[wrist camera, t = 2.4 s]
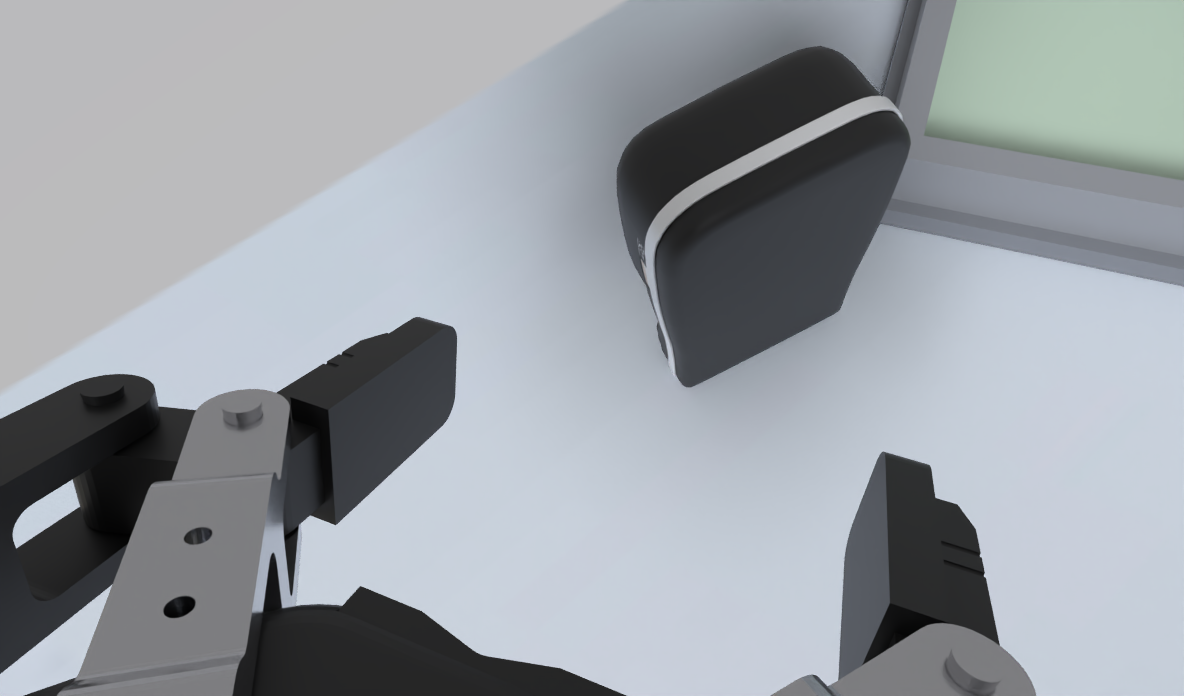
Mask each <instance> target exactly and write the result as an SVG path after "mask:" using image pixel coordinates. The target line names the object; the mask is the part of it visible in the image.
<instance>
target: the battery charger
mask: <svg viewBox="0 0 1184 696" xmlns="http://www.w3.org/2000/svg"><path fill="white" fill-rule="evenodd" d="M910 145H911V139H910V135H909V132H908V129H907V127H906V126H905V124H904V122H903V116H902V114H901V112H900V111H899V110H898V109H897V107H896V106H895V105H894V104H893V103H892V102H891V100H889V99H888V98H887V97H884V96H881V95H880V94H879V93H878V92H877V91H876V90H875V88H874V87H873V86H872V85H871V84H870V83H869V81H868V80H867V79H866V78H865V77H864V76H863V74H862V73H861V72H860V71H859V70H858V69H857V67H856V66H855V65H854V64H853V63H852V62H851V61H849V60H848V59H847V58H846V57H845V56H844V55H843V54H841V53H839V52H837V51H835V50H832V49H829V48H825V47H822V46H818V47H811V48H805V49H801V50H798V51H795V52H793V53H790V54H788V55H785V56H783V57H781V58H779V59H777V60H775V61H773V62H771V63H769V64H767V65H765V66H763V67H760V68H758V69H756V70H754V71H752V72H750V73H748V74H746V75H744V76H742V77H740V78H738V79H736V80H734V81H732V82H730V83H728V84H726V85H724V86H722V87H720V88H718V89H716V90H714V91H712V92H710V93H708V94H707V95H705V96H703V97H701V98H699V99H697V100H695V101H693V102H691V103H689V104H688V105H686V106H684V107H682V108H680V109H678V110H676V111H674V112H672V113H670V114H669V115H667V116H665V117H663V118H661V119H659V120H658V121H656V122H654V123H653V124H651V125H649V126H648V127H646V128H645V129H643V130H642V131H641V132H640V133H639V134H637V135H636V136H635V137H634V138H633V139H632V140H631V142H630V143H629V144H628V146H627V147H626V148H625V150H624V152H623V154H622V157H621V159H620V162H619V165H618V167H617V197H618V203H619V210H620V215H621V221H622V226H623V231H624V236H625V240H626V243H627V247H628V251H629V254H630V256H631V258H632V261H633V263H634V265H635V268H636V269H637V271H638V273H639V275H640V276H641V278H642V280H643V281H644V283H645V285H646V287H647V291H648V294H649V297H650V300H651V303H652V306H653V309H654V312H655V314H656V317H657V319H658V323H657V330H658V336H659V340H660V343H661V347H662V350H663V352H664V354H665V356H666V358H667V359H668V361H669V368H670V370H671V371H672V373H673V375H674V376H675V377H678V379H679V381H680V382H681V383H682V384H683V385H684V386H685V387H693V386H695V385H697V384H699V383H701V382H703V381H705V380H707V379H709V378H711V377H713V376H715V375H717V374H719V373H721V372H723V371H725V370H727V369H729V368H731V367H733V366H735V365H737V364H739V363H741V362H743V361H745V360H746V359H748V358H750V357H752V356H754V355H756V354H758V353H760V352H762V351H764V350H766V349H768V348H770V347H772V346H774V345H776V344H778V343H779V342H781V341H783V340H785V339H787V338H789V337H791V336H793V335H795V334H797V333H799V332H801V331H803V330H804V329H806V328H808V327H810V326H812V325H814V324H816V323H818V322H820V321H822V320H823V319H825V318H827V317H829V316H831V315H833V314H835V313H836V312H838V311H839V310H840V308H841V306H842V303H843V300H844V298H845V295H846V292H847V290H848V288H849V285H850V283H851V280H852V278H853V276H854V274H855V272H856V270H857V268H858V266H859V264H860V262H861V260H862V258H863V256H864V254H865V252H866V250H867V248H868V246H869V244H870V242H871V240H872V238H873V236H874V234H875V232H876V230H877V228H878V226H879V224H880V222H881V220H882V218H883V215H884V213H885V211H886V209H887V207H888V204H889V202H890V200H891V197H892V195H893V193H894V190H895V188H896V185H897V183H898V181H899V178H900V176H901V173H902V171H903V168H904V165H905V163H906V160H907V158H908V154H909V150H910Z"/></svg>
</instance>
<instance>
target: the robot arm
mask: <svg viewBox="0 0 1184 696" xmlns="http://www.w3.org/2000/svg"><path fill="white" fill-rule="evenodd" d="M456 355H457V335H456V331H455V329H454V328H453V327H451V326H448V325H445V324H441V323H438V322H434V321H431V320H427V319H424V318H421V317H415V318H413V319H411V320H410V321H408V322H406V323H405V324H403V325H402V326H400V327H399V328H397V329H395V330H394V331H392V332H391V333H389V334H388V333H385V334H381V335H378V336H375V337H371V338H368V339H364V340H361V341H359V342H358V343H356V344H355V345H353V346H351V347H350V348H348V349H347V350H345V351H343V352H342V355H340V354H338V355H337V356H335V357H334V358H332V359H330V360H329V361H327V364H322V365H321V366H319V367H317V368H316V369H314V370H313V371H311V372H309V373H308V374H306V375H304V376H303V377H301V378H300V379H298V380H296V381H295V382H293V383H291V384H290V385H288V386H287V387H285V388H283V389H282V390H280V391H278V392H277V393H274V392H271V391H267V390H258V389H246V390H237V391H232V392H228V393H224V394H221V395H218V396H216V397H214V398H211V399H209V400H208V401H206V402H204V403H203V404H202V405H201V406H200V407H199V408H198V409H197V410H187V409H178V408H168V407H158V402H157V397H156V392H155V388H154V385H153V384H152V383H151V382H150V381H149V380H147V379H145V378H143V377H139V376H135V375H127V374H113V375H103V376H98V377H93V378H89V379H85V380H82V381H79V382H76V383H74V384H71V385H69V386H67V387H65V388H63V389H61V390H59V391H57V392H55V393H53V394H51V395H49V396H47V397H45V398H43V399H40V400H38V401H36V402H34V403H32V404H30V405H28V406H26V407H24V408H22V409H20V410H18V411H16V412H14V413H12V414H10V415H8V416H6V417H4V418H2V419H0V674H1V673H2V672H3V671H4V670H6V669H7V668H8V667H9V666H11V665H12V664H13V663H14V662H16V661H17V660H18V659H19V658H21V657H22V656H23V655H24V654H26V653H27V652H28V651H29V650H31V649H32V648H33V647H34V646H36V645H37V644H38V643H39V642H41V641H42V640H43V639H44V638H46V637H47V636H48V635H49V634H51V633H52V632H53V631H54V630H56V629H57V628H58V627H59V626H61V625H62V624H63V623H64V622H66V621H67V620H68V619H69V618H71V617H72V616H73V615H74V614H76V613H77V612H78V611H80V610H81V609H82V608H83V607H85V606H86V605H87V604H88V603H90V602H91V601H92V600H93V599H95V598H96V597H97V596H98V595H100V594H101V593H102V592H103V591H105V590H106V589H107V588H108V587H110V586H111V585H112V584H113V585H112V588H111V590H110V593H109V596H108V598H107V601H106V604H105V606H104V609H103V612H102V614H101V617H100V619H99V622H98V625H97V627H96V630H95V633H94V635H93V638H92V641H91V643H90V646H89V649H88V651H87V654H86V657H85V659H84V662H83V665H82V667H81V670H80V672H79V674H78V676H77V677H76V678H73V679H71V680H68V681H65V682H62V683H59V684H56V685H53V686H50V687H47V688H45V689H42V690H39V691H36V692H33V693H30V694H27V695H24V696H626V695H624V694H621V693H619V692H616V691H614V690H611V689H609V688H607V687H604V686H602V685H599V684H597V683H594V682H592V681H590V680H587V679H585V678H582V677H580V676H577V675H575V674H573V673H570V672H568V671H565V670H563V669H560V668H555V667H549V666H542V665H536V664H530V663H524V662H518V661H512V660H506V659H500V658H493V657H487V656H483V655H480V654H478V653H476V652H475V651H473V650H472V649H470V648H469V647H468V646H466V645H465V644H464V643H462V642H461V641H460V640H459V639H457V638H456V637H455V636H453V635H452V634H451V633H449V632H448V631H447V630H445V629H444V628H443V627H442V626H440V625H439V624H438V623H436V622H435V621H434V620H432V619H431V618H430V617H428V616H427V615H426V614H425V613H423V612H422V611H420V610H417V609H415V608H412V607H410V606H407V605H405V604H403V603H400V602H398V601H395V600H393V599H390V598H388V597H386V596H383V595H381V594H378V593H376V592H373V591H371V590H369V589H366V588H364V587H361V586H360V587H359V588H358V589H357V590H356V592H355V593H354V594H353V595H352V596H351V597H350V598H349V599H348V600H347V601H346V603H345V604H344V605H343V606H339V605H323V604H315V605H300V606H296V602H297V590H298V578H299V566H300V554H301V542H302V531H301V523H302V522H303V521H304V520H305V519H306V518H307V517H309V516H310V515H311V516H314V517H316V518H319V519H321V520H324V521H326V522H329V523H332V524H334V525H336V524H338V523H339V522H340V521H341V520H342V519H343V518H344V517H345V516H346V515H347V514H348V513H349V512H350V511H352V510H353V509H354V508H355V507H356V506H357V505H358V504H359V503H360V502H361V501H362V500H363V499H364V498H365V497H367V496H368V495H369V494H370V493H371V492H372V491H373V490H374V489H375V488H376V487H377V486H378V485H379V484H380V483H382V482H383V481H384V480H385V479H386V478H387V477H388V476H389V475H390V474H391V473H392V472H393V471H394V470H395V469H397V468H398V467H399V466H400V465H401V464H402V463H403V462H404V461H405V460H406V459H407V458H408V457H409V456H410V455H412V454H413V453H414V452H415V451H416V450H417V449H418V448H419V447H420V446H421V445H422V444H423V443H424V442H425V441H427V440H428V439H429V438H430V437H431V436H432V435H433V434H434V433H435V432H436V431H437V430H438V429H439V428H440V427H442V425H443V424H444V423H445V422H446V420H447V419H448V417H449V415H450V413H451V410H452V407H453V404H454V399H455V383H456ZM72 479H73V483H74V486H75V490H76V493H77V497H78V500H79V504H80V507H79V508H77V509H76V510H74V511H73V512H71V513H70V514H68V515H67V516H65V517H64V518H62V519H61V520H59V521H58V522H56V523H55V524H53V525H51V526H50V527H48V528H47V529H45V530H44V531H42V532H41V533H39V534H38V535H36V536H35V537H33V538H32V539H30V540H29V541H27V542H26V543H24V544H23V545H21V546H20V547H18V548H17V549H16V547H15V545H14V542H13V537H12V533H13V528H14V525H15V523H16V521H17V519H18V518H19V516H20V515H21V514H22V513H23V511H24V510H25V509H27V508H28V507H29V506H30V505H32V504H33V503H35V502H36V501H38V500H40V499H41V498H43V497H45V496H46V495H48V494H49V493H51V492H53V491H54V490H56V489H58V488H59V487H61V486H62V485H64V484H66V483H67V482H69V481H71V480H72ZM984 573H985V572H984V567H983V562H982V558H981V557H980V548H979V543H978V538H977V533H976V529H975V528H974V526H973V525H972V524H971V522H970V521H969V520H968V518H967V517H966V516H965V514H964V513H963V512H962V510H961V509H960V507H959V506H958V505H957V504H953V503H950V502H947V501H943V500H940V499H937V498H935V493H934V486H933V478H932V471H931V467H930V465H928V464H924V463H921V462H917V461H914V460H910V459H907V458H903V457H900V456H896V455H893V454H889V453H886V452H882V453H881V454H880V456H879V458H878V460H877V462H876V464H875V467H874V470H873V472H872V475H871V477H870V480H869V483H868V485H867V488H866V490H865V493H864V496H863V498H862V501H861V503H860V506H859V509H858V511H857V514H856V516H855V519H854V522H853V524H852V527H851V531H850V534H849V538H848V542H847V547H846V552H845V561H844V580H843V600H842V619H841V639H840V659H839V679H838V681H837V682H835V683H833V684H832V685H830V686H826V685H825V684H824V683H823V681H822V680H821V679H820V678H819V677H818V676H816V675H807V676H804V677H802V678H800V679H798V680H796V681H794V682H793V683H791V684H789V685H788V686H786V687H784V688H783V689H781V690H779V691H778V692H776V693H774V694H773V695H771V696H1036V693H1035V689H1034V687H1033V684H1032V682H1031V680H1030V678H1029V677H1028V675H1027V673H1026V672H1025V671H1024V669H1023V668H1022V667H1021V665H1020V664H1019V663H1018V662H1017V661H1016V660H1015V659H1014V658H1013V657H1012V656H1011V655H1010V654H1009V653H1008V652H1007V651H1006V650H1004V649H1003V648H1002V647H1000V645H999V640H998V635H997V630H996V625H995V620H994V616H993V611H992V606H991V601H990V596H989V591H988V587H987V582H986V578H985V577H984Z"/></svg>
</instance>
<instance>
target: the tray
mask: <svg viewBox="0 0 1184 696" xmlns="http://www.w3.org/2000/svg"><path fill="white" fill-rule="evenodd" d="M882 96H884V97H887V98H888V99H889V100H891V102H892V103H893V104H894V105H895V106H896V107H897V109H898V110H899V111H900V112H901V114H902V116H903V122H904V124H905V126H906V127H907V129H908V132H909V135H910V139H911V145H910V150H909V154H908V158H907V160H906V163H905V165H904V168H903V171H902V173H901V176H900V178H899V181H898V183H897V185H896V188H895V190H894V193H893V195H892V197H891V200H890V202H889V204H888V207H887V209H886V211H885V213H884V215H883V218H882V220H881V222H880V223H882V224H887V225H892V226H896V227H901V228H906V229H911V230H916V231H920V232H925V233H930V234H935V235H940V236H945V237H949V238H954V239H959V240H964V241H969V242H973V243H978V244H983V245H988V246H993V247H997V248H1002V249H1007V250H1012V251H1017V252H1021V253H1026V254H1031V255H1036V256H1041V257H1046V258H1050V259H1055V260H1060V261H1065V262H1070V263H1074V264H1079V265H1084V266H1089V267H1094V268H1098V269H1103V270H1108V271H1113V272H1118V273H1122V274H1127V275H1132V276H1137V277H1142V278H1147V279H1151V280H1156V281H1161V282H1166V283H1171V284H1175V285H1180V286H1184V0H908V2H907V6H906V10H905V14H904V17H903V21H902V25H901V28H900V32H899V36H898V40H897V43H896V47H895V51H894V54H893V58H892V62H891V65H890V69H889V73H888V77H887V80H886V84H885V88H884V91H883V95H882Z"/></svg>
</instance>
